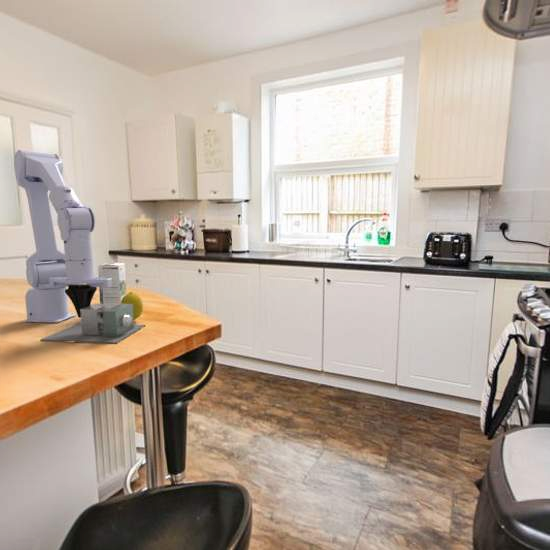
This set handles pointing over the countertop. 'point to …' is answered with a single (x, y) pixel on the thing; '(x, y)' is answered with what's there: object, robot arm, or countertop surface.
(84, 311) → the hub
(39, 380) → the countertop surface
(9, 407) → the countertop surface
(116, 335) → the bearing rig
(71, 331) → the mat
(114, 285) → the syrup box
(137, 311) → the lemon
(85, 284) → the robot arm
